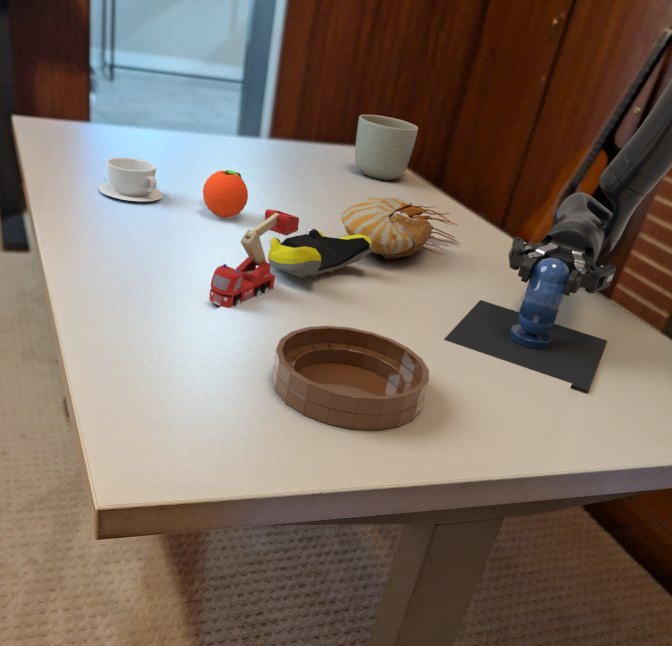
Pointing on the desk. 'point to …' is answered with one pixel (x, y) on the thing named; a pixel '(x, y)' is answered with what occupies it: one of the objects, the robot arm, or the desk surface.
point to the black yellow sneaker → (316, 253)
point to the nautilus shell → (392, 225)
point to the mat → (556, 360)
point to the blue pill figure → (541, 304)
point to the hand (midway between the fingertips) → (547, 280)
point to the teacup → (131, 180)
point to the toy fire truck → (250, 264)
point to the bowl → (349, 377)
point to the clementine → (225, 193)
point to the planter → (384, 146)
